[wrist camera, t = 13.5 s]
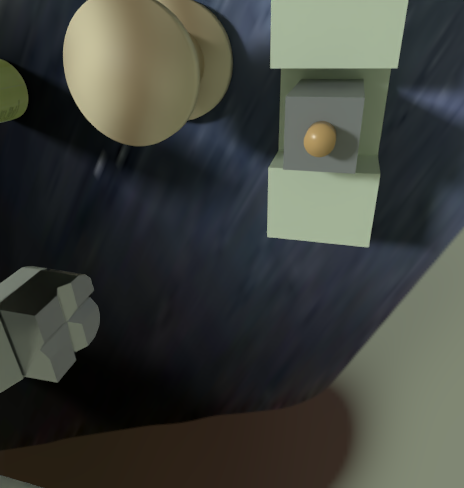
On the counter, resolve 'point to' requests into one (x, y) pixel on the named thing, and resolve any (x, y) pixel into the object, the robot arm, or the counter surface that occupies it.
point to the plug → (323, 125)
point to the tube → (11, 93)
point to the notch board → (375, 88)
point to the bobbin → (145, 66)
